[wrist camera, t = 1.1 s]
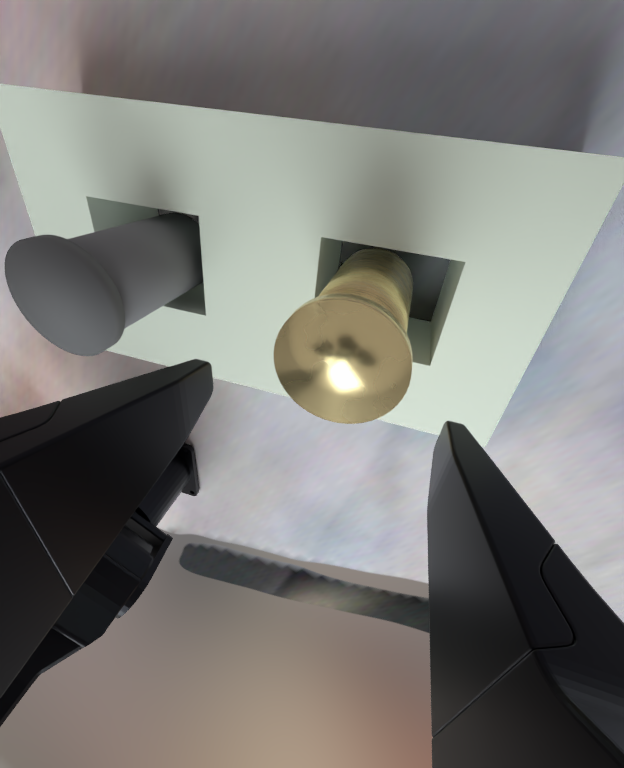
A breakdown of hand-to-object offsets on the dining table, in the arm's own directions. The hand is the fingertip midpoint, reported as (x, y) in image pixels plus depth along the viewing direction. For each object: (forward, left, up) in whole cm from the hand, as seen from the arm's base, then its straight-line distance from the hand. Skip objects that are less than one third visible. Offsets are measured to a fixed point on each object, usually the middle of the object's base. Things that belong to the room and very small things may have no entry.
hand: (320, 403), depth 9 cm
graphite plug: (0, +10, -10) cm, 14 cm away
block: (0, +5, -12) cm, 13 cm away
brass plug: (0, 0, -9) cm, 9 cm away
